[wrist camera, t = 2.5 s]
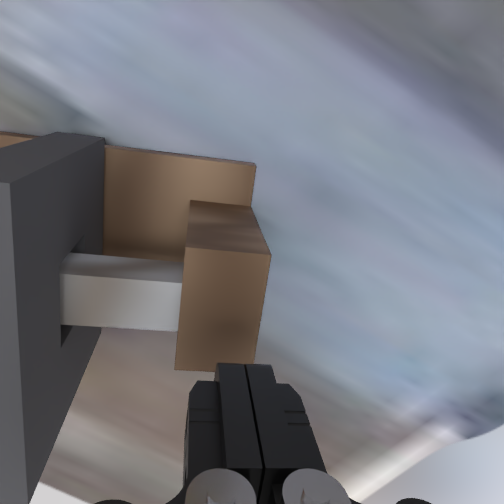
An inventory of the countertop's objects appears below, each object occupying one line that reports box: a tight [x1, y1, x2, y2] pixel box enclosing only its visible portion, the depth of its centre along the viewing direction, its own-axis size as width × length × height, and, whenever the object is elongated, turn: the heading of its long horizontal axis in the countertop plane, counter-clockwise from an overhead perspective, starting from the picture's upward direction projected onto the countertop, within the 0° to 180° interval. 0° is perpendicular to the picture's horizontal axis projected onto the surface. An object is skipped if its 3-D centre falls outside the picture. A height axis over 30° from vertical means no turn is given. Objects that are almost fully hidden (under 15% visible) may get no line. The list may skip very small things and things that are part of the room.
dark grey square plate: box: [0, 132, 105, 504], centre depth 16 cm, size 2×10×10 cm, turn 172°
